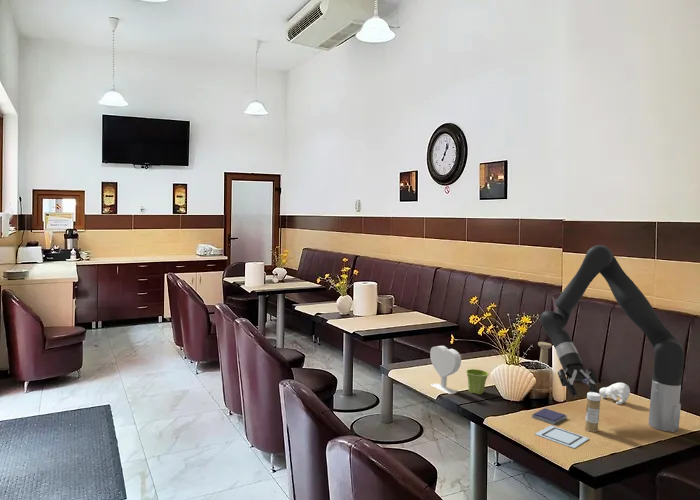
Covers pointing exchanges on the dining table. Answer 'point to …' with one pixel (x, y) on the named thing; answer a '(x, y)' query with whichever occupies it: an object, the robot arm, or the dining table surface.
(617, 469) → the dining table surface
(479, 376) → the plant pot
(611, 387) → the white bear figurine
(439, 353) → the heart sculpture
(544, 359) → the handle
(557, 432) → the print card
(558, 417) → the ink pad
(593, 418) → the sprinkles bottle
